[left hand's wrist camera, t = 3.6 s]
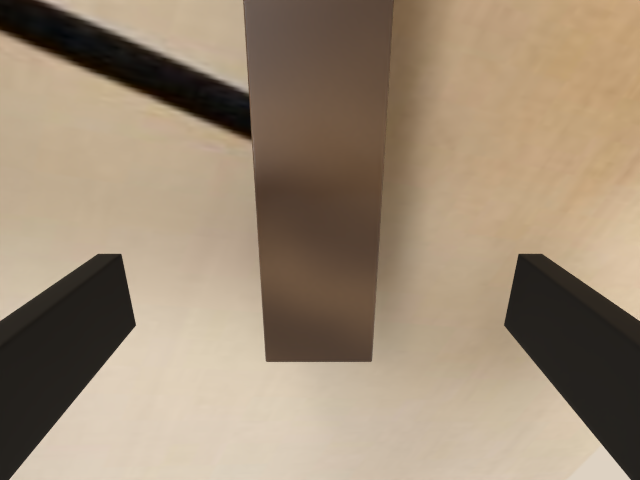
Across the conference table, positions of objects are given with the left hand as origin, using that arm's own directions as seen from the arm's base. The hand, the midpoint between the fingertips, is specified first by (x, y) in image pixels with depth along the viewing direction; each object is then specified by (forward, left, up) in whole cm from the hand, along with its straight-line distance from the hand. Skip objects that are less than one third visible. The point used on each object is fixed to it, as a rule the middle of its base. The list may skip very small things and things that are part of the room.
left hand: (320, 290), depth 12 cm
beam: (+11, +20, -12) cm, 26 cm away
